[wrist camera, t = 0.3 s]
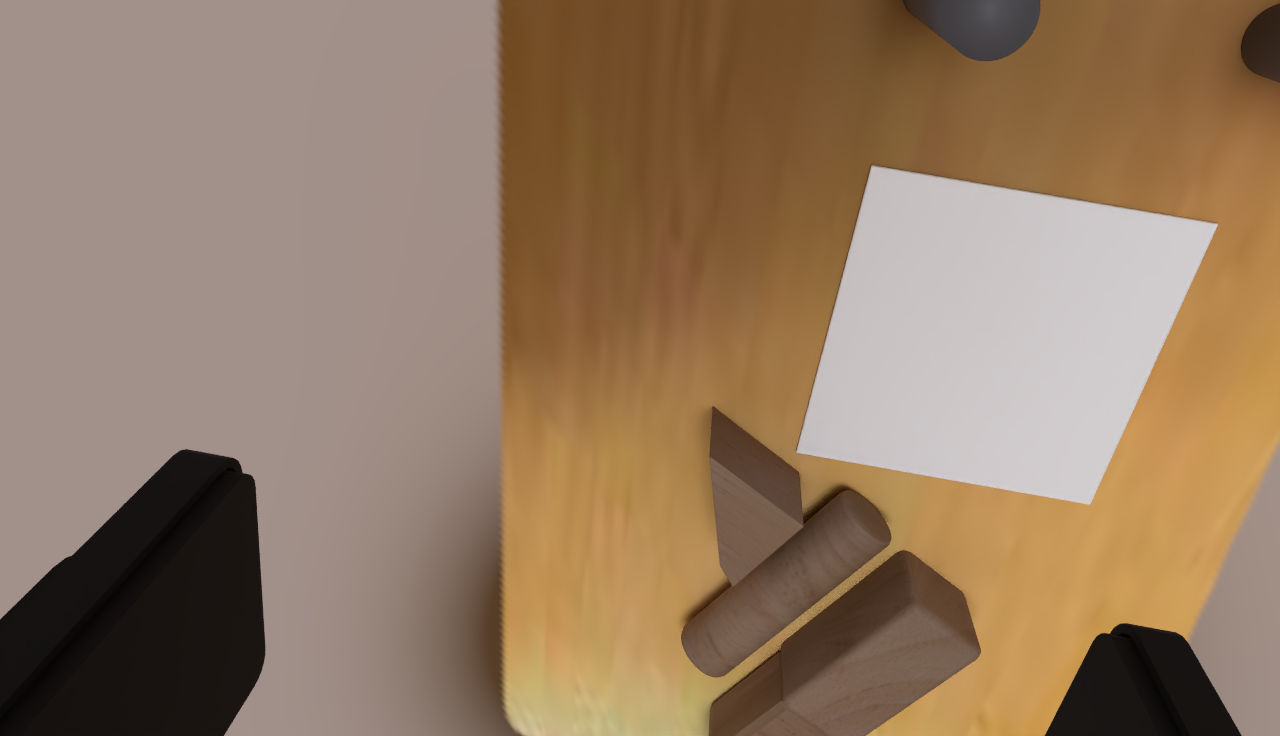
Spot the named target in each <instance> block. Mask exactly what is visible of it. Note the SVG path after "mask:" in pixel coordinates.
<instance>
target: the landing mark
mask: <svg viewBox="0 0 1280 736" xmlns="http://www.w3.org/2000/svg"><path fill="white" fill-rule="evenodd" d="M1217 226H1218V224H1217V223H1214V222H1208V221H1202V220H1196V219H1190V218H1184V217H1179V216H1173V215H1167V214H1161V213H1155V212H1149V211H1143V210H1137V209H1131V208H1125V207H1119V206H1113V205H1107V204H1101V203H1095V202H1089V201H1083V200H1077V199H1072V198H1066V197H1060V196H1054V195H1048V194H1042V193H1036V192H1030V191H1024V190H1018V189H1012V188H1006V187H1000V186H994V185H988V184H982V183H976V182H970V181H964V180H959V179H953V178H947V177H941V176H935V175H929V174H923V173H917V172H911V171H905V170H899V169H893V168H887V167H881V166H875V165H871V168H870V172H869V176H868V180H867V184H866V187H865V191H864V195H863V199H862V203H861V206H860V210H859V214H858V218H857V222H856V225H855V229H854V233H853V237H852V240H851V244H850V248H849V252H848V256H847V259H846V263H845V267H844V271H843V275H842V278H841V282H840V286H839V290H838V294H837V297H836V301H835V305H834V309H833V313H832V316H831V320H830V324H829V328H828V332H827V335H826V339H825V343H824V347H823V351H822V354H821V358H820V362H819V366H818V370H817V373H816V377H815V381H814V385H813V389H812V392H811V396H810V400H809V404H808V408H807V411H806V415H805V419H804V423H803V427H802V430H801V434H800V438H799V442H798V446H797V449H796V453H801V454H807V455H813V456H818V457H824V458H830V459H835V460H841V461H847V462H852V463H858V464H864V465H869V466H875V467H880V468H886V469H892V470H897V471H903V472H909V473H914V474H920V475H926V476H931V477H937V478H943V479H948V480H954V481H959V482H965V483H971V484H976V485H982V486H988V487H993V488H999V489H1005V490H1010V491H1016V492H1022V493H1027V494H1033V495H1038V496H1044V497H1050V498H1055V499H1061V500H1067V501H1072V502H1078V503H1084V504H1089V505H1090V504H1091V501H1092V499H1093V497H1094V495H1095V493H1096V491H1097V488H1098V486H1099V484H1100V482H1101V480H1102V477H1103V475H1104V473H1105V471H1106V469H1107V466H1108V464H1109V462H1110V460H1111V458H1112V455H1113V453H1114V451H1115V449H1116V447H1117V445H1118V442H1119V440H1120V438H1121V436H1122V434H1123V431H1124V429H1125V427H1126V425H1127V423H1128V420H1129V418H1130V416H1131V414H1132V412H1133V410H1134V407H1135V405H1136V403H1137V401H1138V399H1139V396H1140V394H1141V392H1142V390H1143V388H1144V385H1145V383H1146V381H1147V379H1148V377H1149V374H1150V372H1151V370H1152V368H1153V366H1154V364H1155V361H1156V359H1157V357H1158V355H1159V353H1160V350H1161V348H1162V346H1163V344H1164V342H1165V339H1166V337H1167V335H1168V333H1169V331H1170V329H1171V326H1172V324H1173V322H1174V320H1175V318H1176V315H1177V313H1178V311H1179V309H1180V307H1181V304H1182V302H1183V300H1184V298H1185V296H1186V294H1187V291H1188V289H1189V287H1190V285H1191V283H1192V280H1193V278H1194V276H1195V274H1196V272H1197V269H1198V267H1199V265H1200V263H1201V261H1202V258H1203V256H1204V254H1205V252H1206V250H1207V248H1208V245H1209V243H1210V241H1211V239H1212V237H1213V234H1214V232H1215V230H1216V228H1217Z"/></svg>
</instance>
